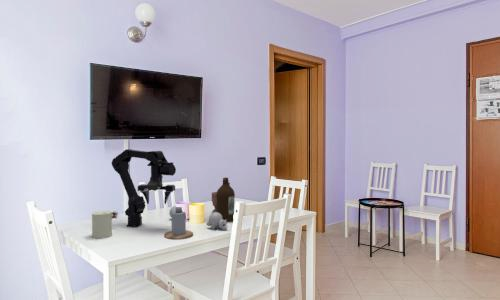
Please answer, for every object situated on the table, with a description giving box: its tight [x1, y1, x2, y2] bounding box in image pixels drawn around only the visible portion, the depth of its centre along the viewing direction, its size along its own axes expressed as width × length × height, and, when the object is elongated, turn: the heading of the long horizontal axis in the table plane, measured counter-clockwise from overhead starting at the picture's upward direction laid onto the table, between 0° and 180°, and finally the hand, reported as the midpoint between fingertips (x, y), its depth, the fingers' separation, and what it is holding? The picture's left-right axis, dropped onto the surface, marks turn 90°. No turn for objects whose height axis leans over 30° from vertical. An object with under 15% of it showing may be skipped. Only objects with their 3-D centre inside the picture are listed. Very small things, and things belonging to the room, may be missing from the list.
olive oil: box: [216, 177, 236, 223], centre depth 210 cm, size 11×11×25 cm
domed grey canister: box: [171, 206, 187, 236], centre depth 178 cm, size 7×7×13 cm
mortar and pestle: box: [211, 181, 231, 214], centre depth 230 cm, size 12×9×20 cm
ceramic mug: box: [169, 205, 177, 219], centre depth 211 cm, size 11×8×8 cm
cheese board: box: [163, 229, 194, 240], centre depth 178 cm, size 14×14×4 cm
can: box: [91, 210, 113, 239], centre depth 176 cm, size 9×9×12 cm
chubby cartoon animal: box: [206, 212, 228, 231], centre depth 191 cm, size 7×12×8 cm, turn 56°
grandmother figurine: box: [112, 210, 119, 218], centre depth 214 cm, size 8×4×13 cm
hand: (156, 204), depth 191 cm, fingers open, 9 cm apart
